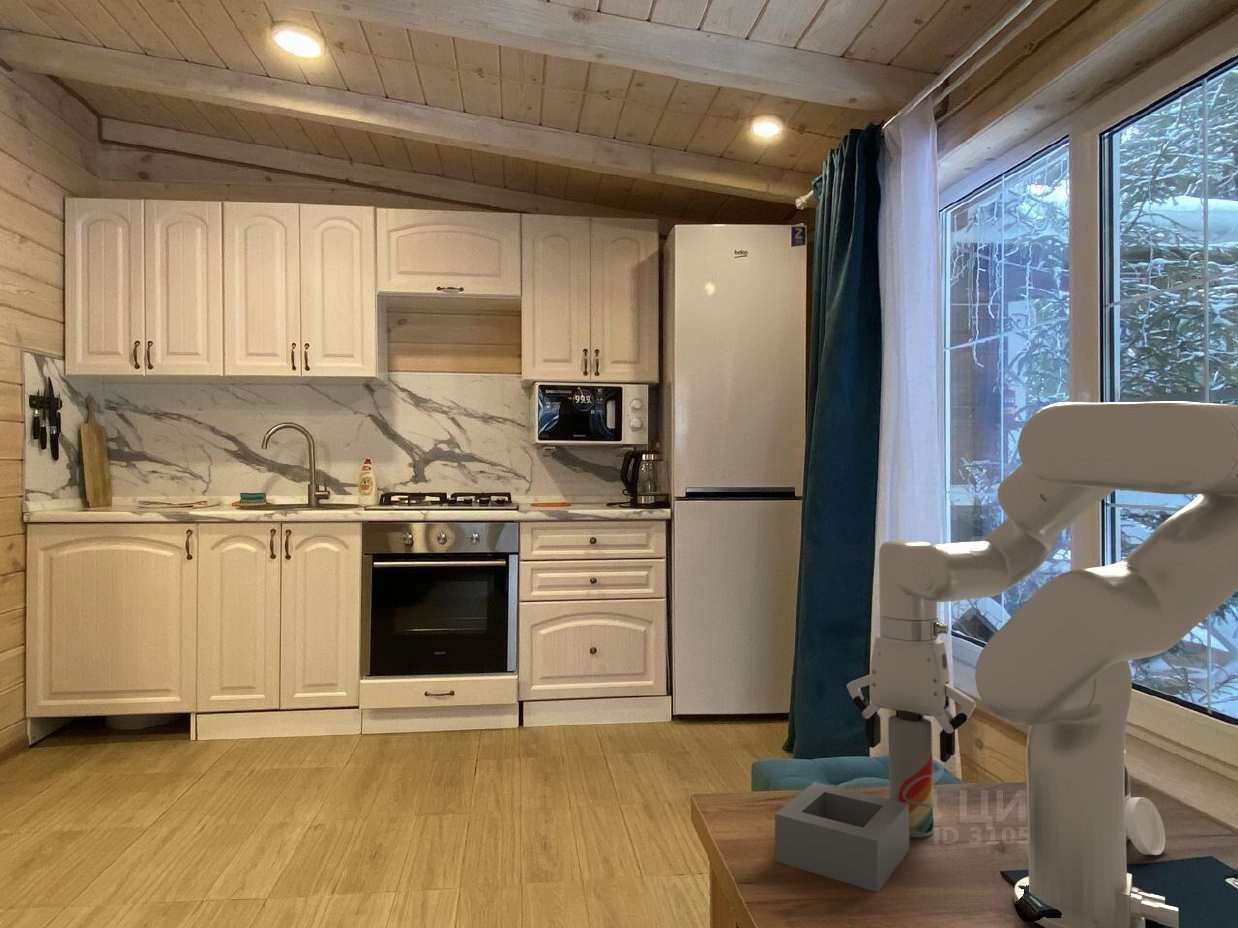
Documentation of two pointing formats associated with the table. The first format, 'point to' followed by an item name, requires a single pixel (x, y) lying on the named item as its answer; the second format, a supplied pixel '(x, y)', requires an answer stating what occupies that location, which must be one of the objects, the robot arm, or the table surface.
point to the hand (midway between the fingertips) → (909, 751)
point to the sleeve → (843, 835)
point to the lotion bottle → (912, 769)
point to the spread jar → (1142, 822)
